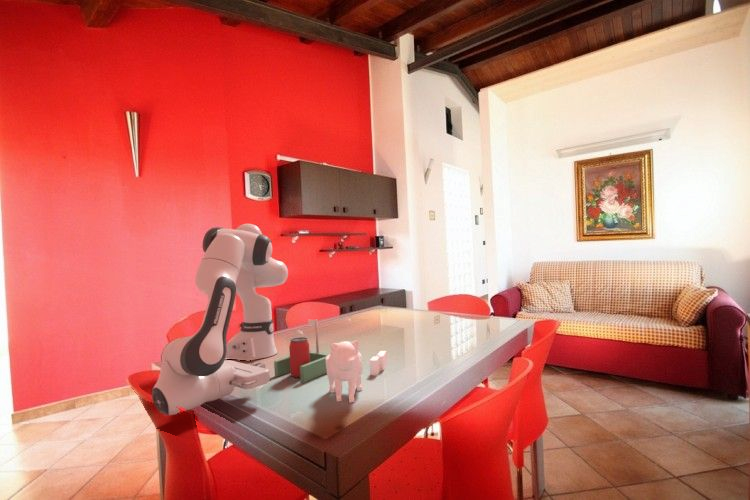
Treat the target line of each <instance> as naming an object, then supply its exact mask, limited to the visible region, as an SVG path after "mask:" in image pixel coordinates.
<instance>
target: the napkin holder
mask: <svg viewBox="0 0 750 500" xmlns="http://www.w3.org/2000/svg"><path fill="white" fill-rule="evenodd" d="M386 365H387V366H388V352H387V350H379V352H378V353H377V354H376V356H374V355H373V356H372V357H371V359H369V367H370V368H369V369H370V376H378V375H380V372H384V371H385V370H386V368H387V366H386ZM385 367H386V368H385ZM383 370H384V371H383Z"/></svg>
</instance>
